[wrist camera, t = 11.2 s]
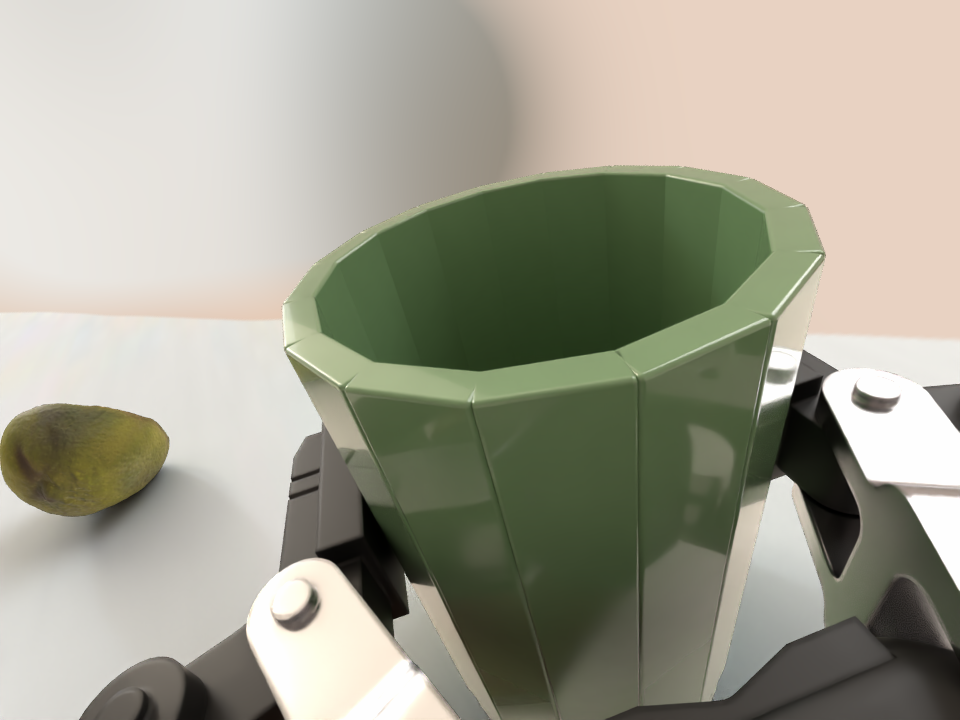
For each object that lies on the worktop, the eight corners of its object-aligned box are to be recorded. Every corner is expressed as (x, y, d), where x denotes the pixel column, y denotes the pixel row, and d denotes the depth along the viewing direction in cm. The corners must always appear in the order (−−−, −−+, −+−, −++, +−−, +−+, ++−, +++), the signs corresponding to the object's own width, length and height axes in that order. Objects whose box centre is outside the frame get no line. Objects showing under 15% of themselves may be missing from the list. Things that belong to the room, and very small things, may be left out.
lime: (59, 505, 19) (-41, 420, 16) (175, 437, 22) (106, 352, 19) (67, 568, 16) (-52, 477, 14) (201, 481, 19) (124, 388, 16)
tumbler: (624, 876, 8) (585, 557, 2) (408, 624, 12) (210, 299, 7) (767, 590, 11) (895, 166, 6) (556, 470, 15) (507, 163, 10)
